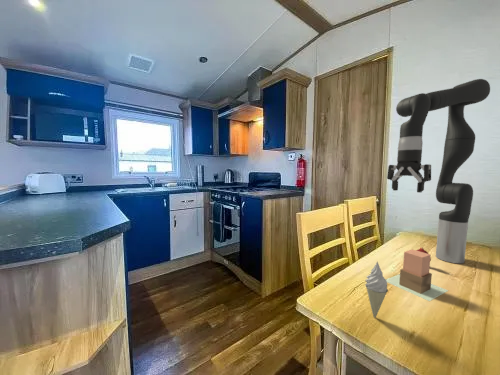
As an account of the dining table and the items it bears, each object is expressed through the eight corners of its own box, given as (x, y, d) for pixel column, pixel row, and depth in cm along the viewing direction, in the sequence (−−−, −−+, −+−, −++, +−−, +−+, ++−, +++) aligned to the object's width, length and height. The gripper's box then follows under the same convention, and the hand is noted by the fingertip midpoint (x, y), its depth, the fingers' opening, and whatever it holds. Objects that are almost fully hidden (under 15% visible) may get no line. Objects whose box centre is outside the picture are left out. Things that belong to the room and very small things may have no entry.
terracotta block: (411, 266, 72) (412, 249, 72) (429, 273, 68) (430, 254, 68) (402, 270, 70) (404, 251, 70) (420, 276, 66) (422, 257, 65)
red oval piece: (433, 270, 83) (435, 250, 83) (416, 269, 85) (417, 249, 84) (424, 264, 89) (426, 245, 88) (408, 262, 90) (410, 244, 90)
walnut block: (409, 280, 73) (410, 266, 73) (430, 289, 68) (431, 273, 68) (399, 284, 71) (400, 269, 70) (420, 293, 65) (422, 277, 65)
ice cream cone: (359, 311, 59) (362, 257, 58) (377, 310, 59) (380, 257, 58) (371, 324, 54) (374, 265, 53) (390, 323, 54) (394, 265, 53)
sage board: (402, 275, 79) (402, 272, 79) (448, 294, 68) (448, 290, 67) (383, 283, 73) (383, 280, 73) (429, 305, 62) (429, 301, 62)
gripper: (437, 148, 79) (433, 192, 81) (395, 151, 92) (393, 189, 93) (426, 147, 76) (423, 193, 77) (385, 150, 88) (382, 190, 90)
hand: (406, 191), depth 85 cm, fingers open, 8 cm apart
